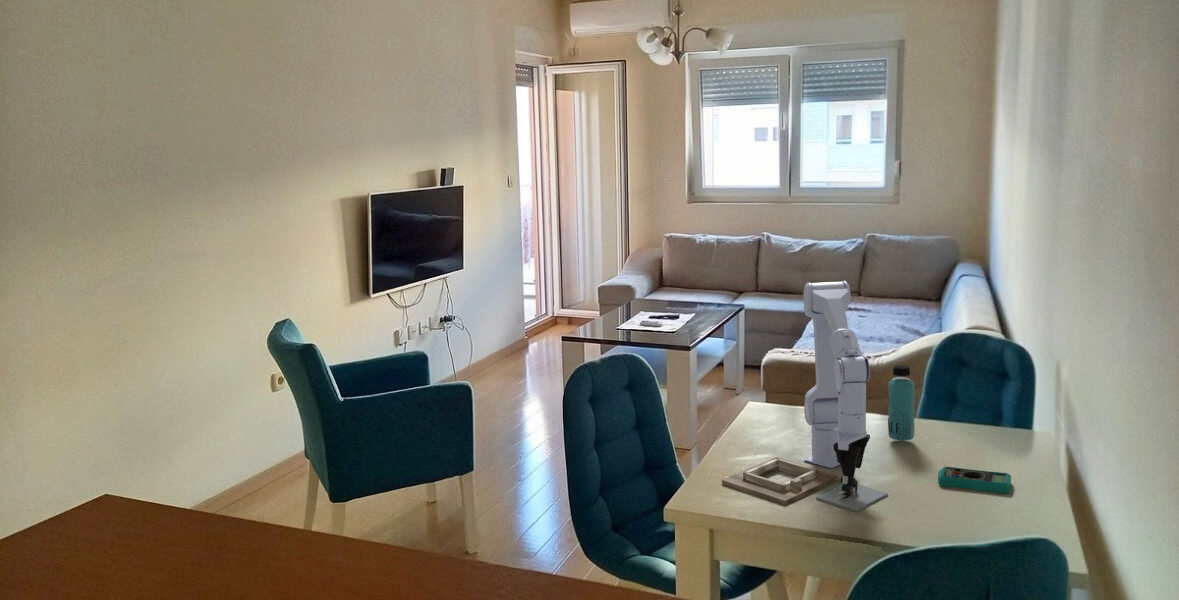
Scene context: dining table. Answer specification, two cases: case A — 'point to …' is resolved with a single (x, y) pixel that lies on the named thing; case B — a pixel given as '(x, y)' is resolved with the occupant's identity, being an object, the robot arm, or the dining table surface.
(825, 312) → the robot arm
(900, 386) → the beverage bottle
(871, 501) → the rubber mat
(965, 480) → the digital multimeter
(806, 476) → the brown flat rectangular frame
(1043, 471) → the dining table surface
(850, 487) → the push button
